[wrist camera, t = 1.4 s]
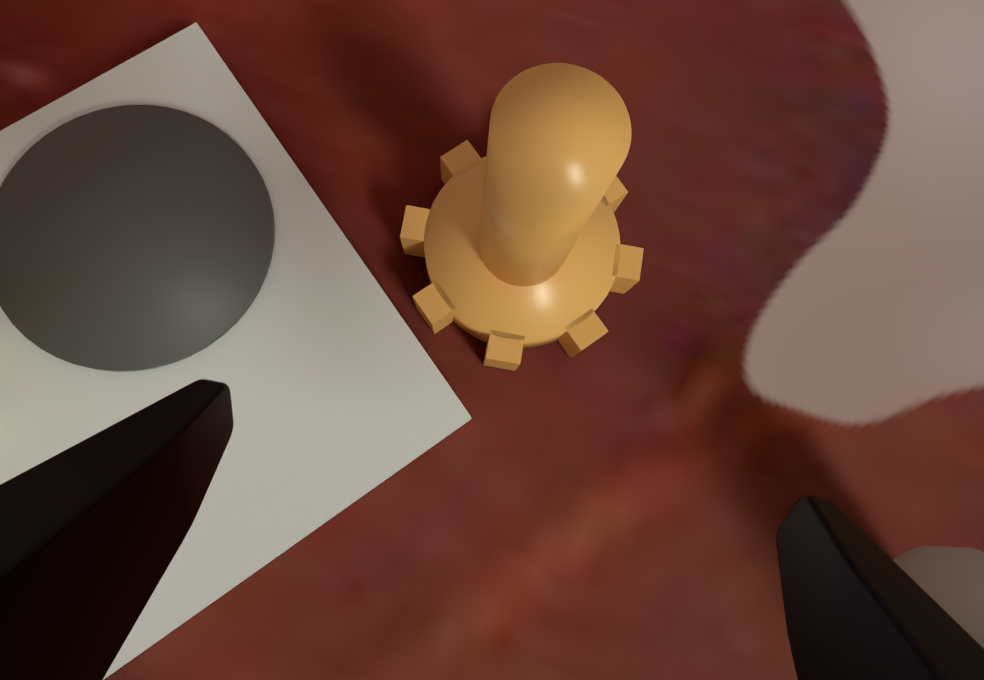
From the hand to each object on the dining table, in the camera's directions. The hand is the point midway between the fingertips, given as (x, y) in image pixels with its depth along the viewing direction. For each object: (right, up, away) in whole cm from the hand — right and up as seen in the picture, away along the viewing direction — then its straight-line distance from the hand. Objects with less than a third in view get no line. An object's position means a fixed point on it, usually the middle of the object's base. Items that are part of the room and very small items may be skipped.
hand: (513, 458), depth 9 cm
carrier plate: (-14, +1, +13) cm, 19 cm away
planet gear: (+1, +5, +14) cm, 15 cm away
